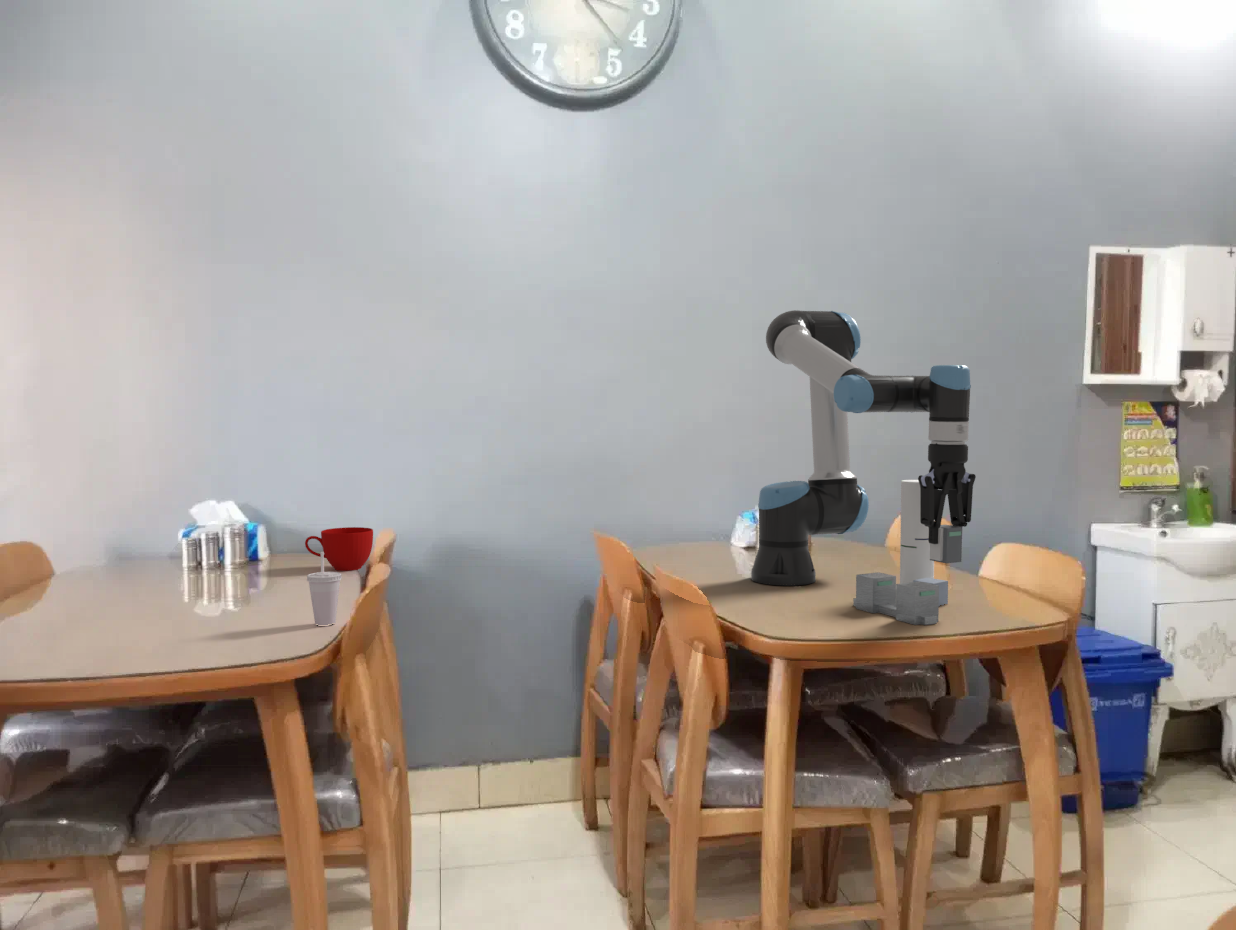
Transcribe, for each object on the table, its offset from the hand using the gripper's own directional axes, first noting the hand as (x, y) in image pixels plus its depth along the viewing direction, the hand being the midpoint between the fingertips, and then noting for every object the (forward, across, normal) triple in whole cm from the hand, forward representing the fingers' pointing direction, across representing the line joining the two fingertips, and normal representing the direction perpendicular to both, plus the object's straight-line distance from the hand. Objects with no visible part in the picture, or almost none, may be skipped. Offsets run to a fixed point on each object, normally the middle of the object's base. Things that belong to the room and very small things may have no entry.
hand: (944, 558), depth 188 cm
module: (0, 0, 0) cm, 0 cm away
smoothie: (+12, -113, +46) cm, 123 cm away
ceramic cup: (+13, -99, +109) cm, 148 cm away
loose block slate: (+11, +3, +6) cm, 13 cm away
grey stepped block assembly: (+11, -11, +2) cm, 16 cm away
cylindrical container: (+11, +8, +15) cm, 21 cm away
